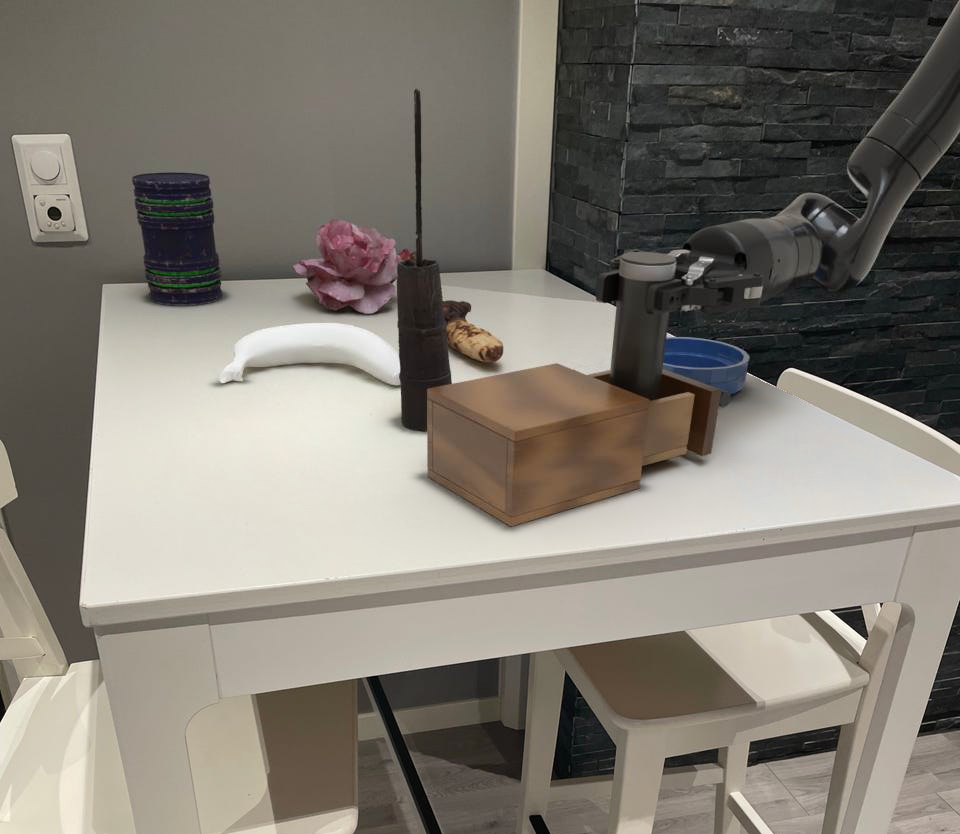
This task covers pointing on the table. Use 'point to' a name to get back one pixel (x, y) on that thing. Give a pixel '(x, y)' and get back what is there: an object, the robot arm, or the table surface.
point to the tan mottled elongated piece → (469, 334)
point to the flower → (352, 267)
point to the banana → (315, 350)
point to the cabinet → (535, 441)
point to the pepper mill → (640, 325)
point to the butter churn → (420, 317)
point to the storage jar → (178, 237)
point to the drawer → (680, 417)
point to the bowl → (707, 362)
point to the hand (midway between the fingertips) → (625, 295)
